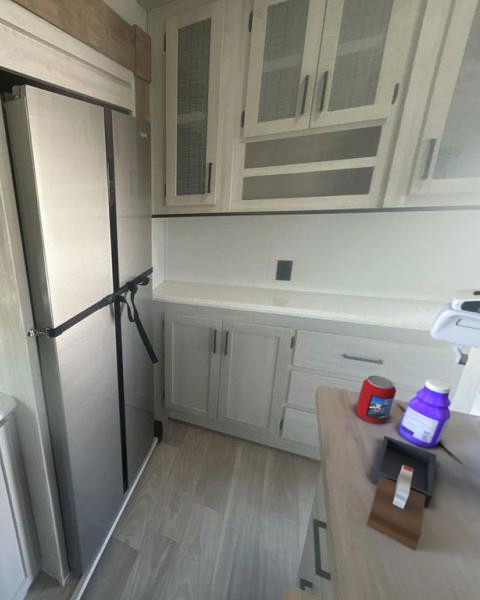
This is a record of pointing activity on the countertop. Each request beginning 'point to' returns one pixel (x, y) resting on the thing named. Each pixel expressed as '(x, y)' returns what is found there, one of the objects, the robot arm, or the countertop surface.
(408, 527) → the tap plinth
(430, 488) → the sink basin
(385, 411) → the beverage can
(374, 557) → the countertop surface
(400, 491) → the white red-tipped brick
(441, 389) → the bottle
